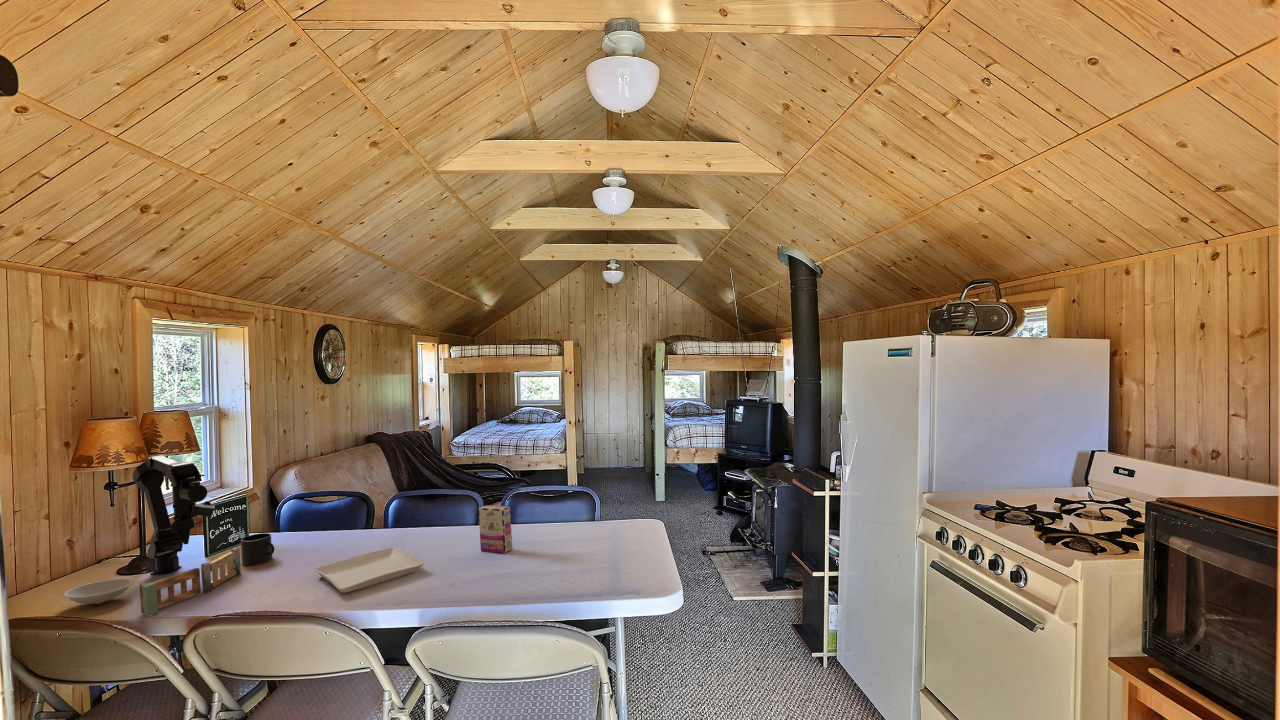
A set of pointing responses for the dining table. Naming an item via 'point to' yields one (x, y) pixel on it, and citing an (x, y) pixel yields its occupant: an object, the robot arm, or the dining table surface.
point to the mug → (256, 549)
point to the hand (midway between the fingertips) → (186, 544)
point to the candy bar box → (495, 529)
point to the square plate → (369, 569)
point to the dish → (98, 591)
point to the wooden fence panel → (232, 569)
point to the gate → (170, 583)
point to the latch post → (149, 599)
